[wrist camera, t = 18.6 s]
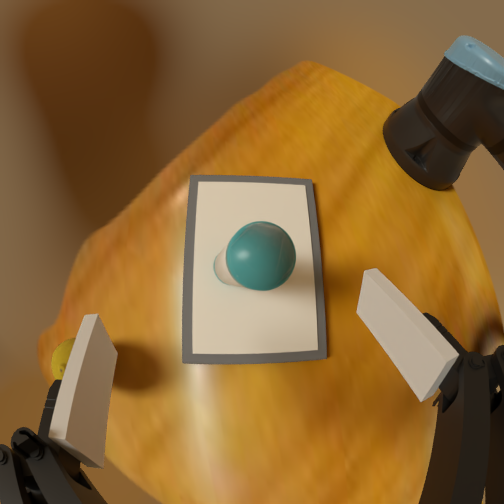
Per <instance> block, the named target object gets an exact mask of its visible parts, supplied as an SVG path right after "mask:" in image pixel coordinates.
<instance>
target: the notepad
mask: <svg viewBox="0 0 504 504" xmlns="http://www.w3.org/2000/svg"><path fill="white" fill-rule="evenodd" d="M256 221H267V222H271V223H274V224H276V225H278V226H280V227H281V228H282V229H284V230H285V231H286V232H287V233H288V235H289V236H290V238H291V239H292V241H293V244H294V246H295V250H296V263H295V267H294V270H293V272H292V274H291V276H290V277H289V278H288V280H287V281H286V282H285V283H283V284H282V285H281V286H279V287H277V288H275V289H272V290H267V291H258V290H252V289H248V288H245V287H240V286H232V285H226V284H224V283H222V282H221V281H219V279H218V278H217V277H216V275H215V273H214V269H213V264H214V260H215V258H216V256H217V255H218V254H219V253H220V251H221V250H222V249H223V248H224V247H225V246H226V245H227V244H228V243H229V241H230V240H231V238H232V237H233V236H234V235H235V233H236V232H237V231H238V230H239V229H241V228H242V227H243V226H245V225H247V224H249V223H252V222H256ZM319 359H327V345H326V321H325V304H324V289H323V276H322V264H321V253H320V243H319V233H318V224H317V216H316V207H315V200H314V192H313V185H312V180H311V179H298V178H282V177H262V176H233V175H190V185H189V196H188V207H187V220H186V235H185V251H184V273H183V306H182V362H183V363H187V364H262V363H282V362H297V361H309V360H319Z"/></svg>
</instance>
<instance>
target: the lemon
mask: <svg viewBox="0 0 504 504" xmlns="http://www.w3.org/2000/svg"><path fill="white" fill-rule="evenodd" d="M75 340H76V338H72V339H68V340H66V341H64V342H63V343H61V344H60V345H59V346H58V347H57V348H56V349H55V351H54V353H53V356H52V361H51V367H52V372H53V375H54V378H55V380H56V379H58V380H62V379H63V376H64V372H65V369H66V366H67V363H68V360H69V357H70V354H71V351H72V348H73V345H74V342H75Z"/></svg>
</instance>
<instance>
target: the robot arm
mask: <svg viewBox="0 0 504 504" xmlns="http://www.w3.org/2000/svg"><path fill="white" fill-rule="evenodd" d="M444 55H445V56H444V58H443V59H442V61H441V62H440V64H439V65H438V67H437V68H436V69H435V71H434V72H433V74H432V75H431V77H430V78H429V79H428V81H427V82H426V84H425V85H424V87H423V88H422V89H421V91H420V92H419V94H418V95H417V96H416V97H415V98H413V99H412V100H410V101H409V102H407V103H406V104H404V105H403V106H402V107H401V108H398V109H396V110H394V111H393V112H392V113H391V114H390V115H389V117H388V118H387V120H386V121H385V123H384V126H383V135H384V139H385V142H386V145H387V147H388V149H389V151H390V153H391V154H392V156H393V157H394V159H395V160H396V161H397V163H398V164H399V165H400V166H401V167H402V168H403V169H404V170H405V171H406V172H407V173H408V174H409V175H410V176H411V177H412V178H413V179H415V180H416V181H418V182H419V183H421V184H422V185H424V186H426V187H428V188H431V189H435V190H444V189H446V188H448V187H449V186H451V185H452V184H453V183H454V182H455V181H456V180H457V179H458V177H459V175H460V172H461V171H462V169H463V167H464V165H465V163H466V162H467V160H468V158H469V156H470V154H471V152H472V151H473V150H474V149H476V148H477V146H479V145H480V144H483V145H484V146H485V148H486V149H487V150H488V151H489V152H490V153H491V155H492V156H493V157H494V158H495V159H496V161H497V162H498V163H499V165H500V166H501V167H502V168H503V170H504V58H503V57H501V56H500V55H499V54H498V53H496V52H495V51H494V50H492V49H491V48H490V47H488V46H487V45H485V44H484V43H482V42H480V41H479V40H477V39H475V38H473V37H470V36H460V37H458V38H457V39H456V40H455V42H454V43H453V44H452V46H451V47H450V48H449V49H448V50H446V51H445V53H444ZM357 314H358V315H359V316H360V318H361V319H362V320H363V322H364V323H365V324H366V326H367V327H368V328H369V330H370V331H371V332H372V334H373V335H374V336H375V338H376V339H377V341H378V342H379V343H380V345H381V346H382V347H383V349H384V350H385V352H386V353H387V354H388V356H389V357H390V358H391V360H392V361H393V363H394V364H395V366H396V367H397V368H398V370H399V371H400V373H401V374H402V375H403V377H404V378H405V380H406V381H407V383H408V384H409V386H410V387H411V389H412V390H413V391H414V393H415V394H416V396H417V397H418V399H419V400H420V402H422V401H424V400H426V399H427V398H429V397H431V396H433V395H434V393H435V392H436V390H437V389H438V387H439V388H440V390H441V393H440V394H439V395H438V397H437V398H436V399H435V401H434V402H433V405H432V406H435V405H436V403H437V402H438V401H439V404H438V406H437V407H438V414H437V422H436V429H435V436H434V442H433V448H432V453H431V458H430V463H429V467H428V472H427V476H426V480H425V484H424V487H423V491H422V494H421V498H420V501H419V504H481V503H482V499H483V494H484V488H485V497H486V500H485V502H486V503H485V504H504V345H501V346H499V347H498V348H497V349H496V351H495V352H494V354H492V355H487V356H482V355H481V354H479V353H477V352H469V353H468V352H467V351H466V350H465V349H464V348H463V347H462V346H461V345H460V344H459V342H458V341H457V340H456V339H455V338H454V337H453V336H452V335H451V334H450V333H449V332H447V329H446V328H445V327H444V326H442V324H441V323H440V322H439V321H438V320H437V319H436V318H435V317H433V316H432V315H430V314H428V313H423V314H422V313H421V312H420V311H419V310H418V309H417V308H416V307H415V306H414V305H413V304H412V303H411V302H410V301H409V300H408V299H407V298H406V297H405V296H404V295H403V294H402V293H401V292H400V291H399V290H398V289H397V288H396V287H395V286H394V285H393V284H392V283H391V282H390V281H389V280H388V279H387V278H386V277H385V276H384V275H383V274H382V273H381V272H380V271H379V270H378V269H377V268H374V269H369V270H365V271H364V275H363V281H362V287H361V292H360V297H359V302H358V307H357ZM117 355H118V353H117V351H116V349H115V347H114V345H113V343H112V342H111V340H110V338H109V336H108V334H107V332H106V330H105V328H104V325H103V323H102V321H101V319H100V317H99V315H98V314H91V315H85V316H84V318H83V321H82V323H81V326H80V329H79V331H78V334H77V337H76V340H75V342H74V345H73V348H72V351H71V354H70V357H69V360H68V363H67V366H66V369H65V372H64V376H63V379H62V380H58V379H56V380H55V381H54V383H53V384H52V386H51V387H50V389H49V392H48V395H47V400H46V403H45V408H44V410H43V414H42V418H41V422H40V426H39V431H38V435H36V434H35V433H34V432H33V431H31V430H30V429H28V428H25V427H22V428H19V429H17V430H16V432H14V434H13V436H12V439H11V447H12V450H11V449H10V448H9V447H8V446H6V445H3V444H0V502H1V504H107V503H106V501H105V500H104V499H103V497H102V496H101V495H100V494H99V492H98V491H97V490H96V488H95V487H94V486H93V484H92V483H91V481H90V480H89V479H88V477H87V476H86V474H85V473H84V471H83V470H82V469H81V468H80V462H82V463H83V464H84V465H86V466H87V467H94V468H101V469H103V468H104V453H105V440H106V429H107V420H108V412H109V404H110V397H111V390H112V383H113V377H114V372H115V366H116V360H117ZM498 385H499V386H500V391H499V392H497V390H496V388H497V387H498ZM26 489H27V490H26Z"/></svg>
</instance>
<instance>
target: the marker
mask: <svg viewBox="0 0 504 504" xmlns="http://www.w3.org/2000/svg"><path fill="white" fill-rule="evenodd" d="M295 263H296V250H295V246H294V244H293V241H292V239H291V238H290V236H289V235H288V233H287V232H286V231H285V230H284V229H282V228H281V227H280V226H278V225H276V224H274V223H271V222H267V221H256V222H252V223H249V224H247V225H245V226H243V227H242V228H241V229H239V230H238V231H237V232H236V233H235V235H234V236H233V237H232V238H231V240H230V241H229V243H228V244H227V245H226V246H225V247H224V248H223V249H222V250H221V251H220V253H219V254H218V255H217V256H216V258H215V260H214V264H213V269H214V273H215V275H216V277H217V278H218V279H219V281H221V282H222V283H224V284H226V285H232V286H240V287H245V288H248V289H252V290H258V291H267V290H272V289H275V288H277V287H279V286H281V285H282V284H283V283H285V282H286V281H287V280H288V278H289V277H290V276H291V274H292V272H293V270H294V267H295Z"/></svg>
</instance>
